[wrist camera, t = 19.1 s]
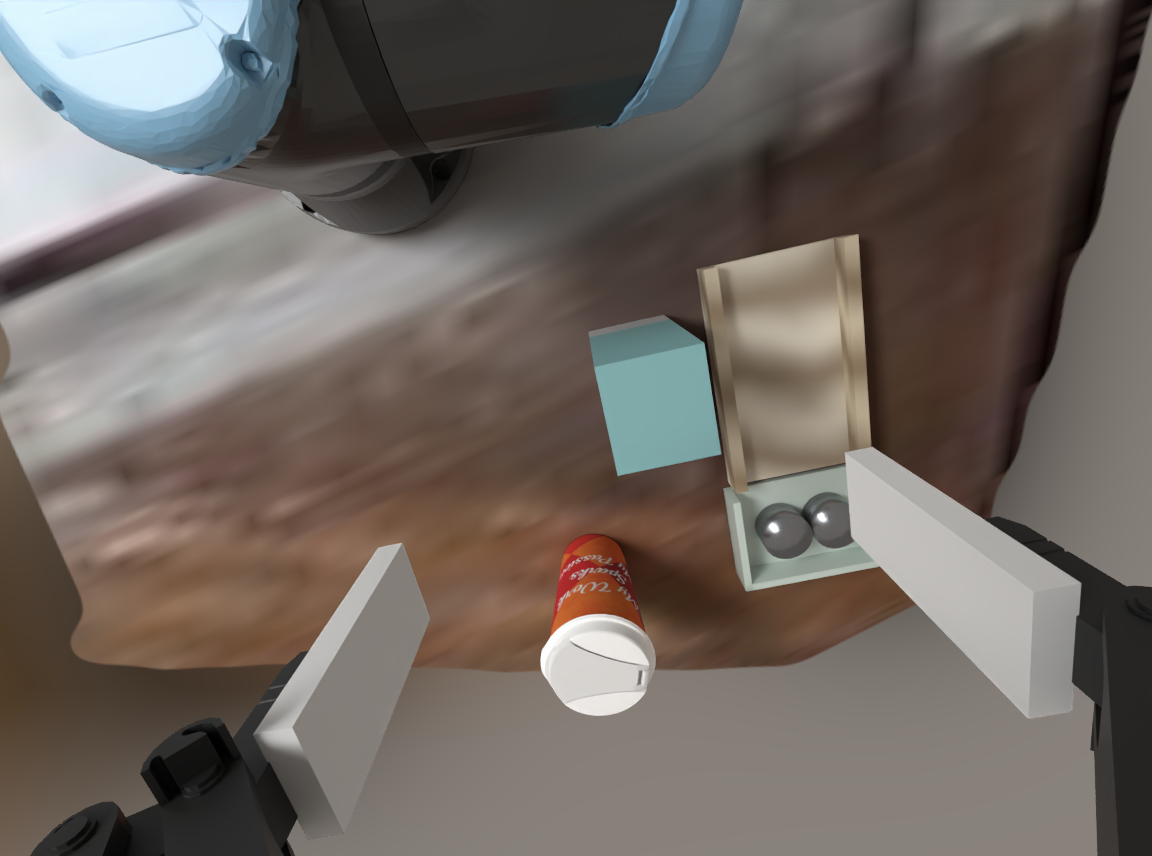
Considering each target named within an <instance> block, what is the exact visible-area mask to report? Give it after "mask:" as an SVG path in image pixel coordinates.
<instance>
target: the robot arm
mask: <svg viewBox="0 0 1152 856" xmlns="http://www.w3.org/2000/svg"><path fill="white" fill-rule="evenodd" d="M742 3H743V0H0V51H1V53H2V54H3V55H4V57H5V58H6V60H7V61H8V62H9V64H10V65H11V66H12V68H13V69H14V70H15V71H16V73H17V74H18V75H19V76H20V78H21V79H22V80H23V81H24V82H25V83H26V85H27V86H28V87H29V88H30V89H31V90H32V91H33V92H34V93H35V94H36V95H37V96H38V97H39V98H40V99H41V100H42V101H43V102H44V103H45V104H46V105H47V106H48V107H49V108H51V109H52V110H53V111H55V112H58V113H59V114H60V115H61V116H62V117H63V118H64V119H65V120H66V121H68V122H70V123H71V124H73V125H74V126H76V127H77V128H78V129H79V130H80V131H81V132H83V133H84V134H86V135H87V136H89V137H91V138H93V139H94V140H96V141H98V142H100V143H102V144H104V145H106V146H108V147H110V148H113V149H115V150H117V151H120V152H123V153H126V154H129V155H132V156H135V157H137V158H140V159H143V160H145V161H147V162H149V163H151V164H155V165H157V166H159V167H161V168H163V169H166V170H172V171H173V172H175V173H179V174H195V175H201V176H205V175H207V176H212V177H217V178H222V179H227V180H232V181H237V182H242V183H247V184H252V185H257V186H262V187H267V188H272V189H277V190H279V191H280V192H281V193H282V194H283V195H284V196H285V197H286V198H288V199H289V200H290V201H291V202H292V203H293V204H294V205H296V206H297V207H298V208H299V209H301V210H302V211H304V212H305V213H307V214H308V215H310V216H312V217H313V218H315V219H317V220H319V221H321V222H323V223H325V224H328V225H330V226H333V227H335V228H338V229H342V230H346V231H351V232H357V233H366V234H391V233H397V232H402V231H405V230H408V229H411V228H414V227H416V226H418V225H420V224H422V223H424V222H426V221H427V220H429V219H430V218H432V217H433V216H434V215H436V214H437V213H438V212H439V211H440V210H441V209H442V208H443V207H444V206H445V205H446V204H447V203H448V202H449V201H450V200H451V198H452V197H453V196H454V194H455V193H456V191H457V190H458V188H459V187H460V185H461V183H462V181H463V179H464V177H465V174H466V172H467V169H468V166H469V163H470V160H471V156H472V151H473V147H475V146H480V145H486V144H492V143H498V142H503V141H509V140H515V139H521V138H526V137H532V136H538V135H544V134H549V133H555V132H561V131H567V130H572V129H578V128H584V127H590V126H595V125H596V127H598V128H601V129H609V128H614V127H616V126H617V125H619V124H623V123H624V122H626V121H627V120H628V119H631V118H636V117H640V116H645V115H649V114H654V113H658V112H663V111H667V110H671V109H674V108H676V107H679V106H680V105H682V104H683V103H684V102H686V101H687V100H689V99H691V98H692V97H693V96H694V95H695V94H696V93H698V92H699V91H700V90H701V89H702V88H703V87H704V86H705V85H706V83H707V82H708V81H709V79H710V78H711V76H712V75H713V73H714V72H715V70H716V69H717V67H718V65H719V63H720V61H721V59H722V57H723V55H724V53H725V51H726V48H727V46H728V44H729V41H730V39H731V36H732V34H733V31H734V28H735V25H736V22H737V19H738V16H739V13H740V10H741V7H742ZM845 461H846V474H847V487H848V500H849V513H850V526H851V537H852V538H853V539H854V540H855V541H856V542H857V543H858V544H859V545H860V546H861V547H862V548H863V549H864V550H865V552H866V553H867V554H868V555H869V556H870V557H871V558H872V559H873V560H874V561H875V562H876V563H877V564H878V565H879V566H880V567H881V568H882V569H883V570H884V571H885V572H886V573H887V574H888V575H889V576H890V577H891V578H892V579H893V580H894V581H895V582H896V583H897V584H898V585H899V586H900V587H901V588H902V590H903V591H904V592H905V593H906V594H907V595H908V596H909V597H910V598H911V599H912V600H913V601H914V602H915V603H916V604H917V605H918V606H919V607H920V608H921V609H922V610H923V611H924V612H925V613H926V614H927V615H928V616H929V617H930V618H931V619H932V620H933V621H934V622H935V623H936V624H937V625H938V626H939V628H940V629H942V631H944V633H945V634H946V635H947V636H948V637H949V638H950V639H951V640H952V641H953V642H954V643H955V644H956V645H957V646H958V647H959V648H960V649H961V650H962V651H963V652H964V653H965V654H966V655H967V656H968V657H969V658H970V659H971V660H972V661H973V662H974V663H975V664H976V666H977V667H978V668H979V669H980V670H981V671H982V672H983V673H984V674H985V675H986V676H987V677H988V678H989V679H990V680H991V681H992V682H993V683H994V684H995V685H996V686H997V687H998V688H999V689H1000V690H1001V691H1002V692H1003V693H1004V694H1005V695H1006V696H1007V697H1008V698H1009V699H1010V700H1011V701H1012V703H1014V705H1015V706H1016V707H1017V708H1018V709H1019V710H1020V711H1021V712H1022V713H1023V714H1024V715H1025V716H1026V717H1027V718H1028V719H1031V718H1036V717H1043V716H1049V715H1055V714H1061V713H1067V712H1072V706H1073V692H1074V685H1076V686H1077V687H1078V688H1079V689H1080V690H1081V691H1083V692H1084V693H1085V694H1086V695H1087V696H1088V697H1089V698H1091V699H1092V700H1093V701H1094V702H1095V703H1094V714H1093V726H1092V737H1091V749H1090V750H1092V751H1094V757H1095V789H1096V819H1097V820H1096V821H1097V852H1098V856H1152V587H1144V586H1127V587H1126V586H1125V585H1123V584H1121V583H1120V582H1118V581H1116V580H1115V579H1113V578H1111V577H1110V576H1108V575H1107V574H1105V573H1103V572H1101V571H1100V570H1098V569H1097V568H1095V567H1093V566H1092V565H1090V564H1088V563H1087V562H1085V561H1083V560H1082V559H1080V558H1078V557H1077V556H1075V555H1073V554H1072V553H1070V552H1065V551H1064V549H1063V548H1062V547H1060V546H1059V545H1057V544H1055V543H1054V542H1052V541H1047V539H1046V538H1045V537H1044V536H1042V535H1040V534H1039V533H1037V532H1035V531H1034V530H1032V529H1030V528H1029V527H1027V526H1025V525H1022V524H1019V523H1016V522H1013V521H1010V520H1007V519H1004V518H1001V517H993V518H988V519H982V518H981V517H979V516H978V515H976V514H974V513H973V512H971V511H970V510H968V509H967V508H965V507H964V506H962V505H961V504H959V503H958V502H956V501H955V500H953V499H951V498H950V497H948V496H947V495H945V494H944V493H942V492H941V491H939V490H938V489H936V488H935V487H933V486H932V485H930V484H928V483H927V482H925V481H924V480H922V479H921V478H919V477H918V476H916V475H915V474H913V473H912V472H910V471H908V470H907V469H905V468H904V467H902V466H901V465H899V464H898V463H896V462H895V461H893V460H892V459H890V458H889V457H887V456H885V455H884V454H882V453H881V452H879V451H878V450H876V449H875V448H873V447H869V448H864V449H859V450H854V451H850V452H845ZM429 620H430V617H429V614H428V611H427V608H426V606H425V603H424V600H423V597H422V595H421V592H420V589H419V586H418V584H417V581H416V578H415V575H414V573H413V570H412V567H411V564H410V562H409V559H408V556H407V553H406V551H405V548H404V545H403V543H399V544H394V545H389V546H384V547H379V548H378V549H377V550H376V552H375V553H374V555H373V556H372V558H371V559H370V561H369V562H368V564H367V565H366V567H365V568H364V570H363V571H362V573H361V574H360V576H359V577H358V579H357V580H356V582H355V583H354V585H353V586H352V588H351V589H350V591H349V592H348V594H347V595H346V597H345V598H344V600H343V601H342V602H341V604H340V605H339V607H338V608H337V610H336V611H335V613H334V614H333V616H332V617H331V619H330V620H329V622H328V623H327V625H326V626H325V628H324V629H323V631H322V632H321V634H320V635H319V637H318V638H317V640H316V641H315V643H314V644H313V646H312V647H311V649H310V650H309V651H305V652H300V653H299V654H298V655H297V656H296V657H295V658H294V659H293V660H292V661H290V662H289V663H288V664H287V665H286V666H285V667H284V668H283V669H282V670H281V671H280V673H279V674H278V675H277V677H276V678H275V680H274V681H273V683H272V684H271V686H270V690H267V691H266V692H265V694H264V695H263V697H262V698H261V700H260V704H259V705H256V707H255V708H254V710H253V711H252V712H251V714H250V715H249V717H248V718H247V719H246V721H245V722H244V724H243V725H242V726H241V728H240V729H239V731H238V732H237V734H236V735H235V736H234V738H233V739H232V737H231V735H230V734H229V731H228V730H227V728H226V726H225V724H224V723H223V722H222V720H221V719H220V718H206V719H203V720H199V721H196V722H194V723H192V724H190V725H187V726H185V727H183V728H181V729H180V730H178V731H177V732H175V733H174V734H172V735H171V736H170V737H168V738H167V739H165V740H164V741H163V742H162V743H161V744H160V745H159V746H158V747H157V748H156V749H154V750H153V752H152V753H151V754H150V756H149V757H148V758H147V760H146V761H145V762H144V764H143V767H142V770H141V773H140V774H141V775H142V777H143V779H144V780H145V782H146V783H147V785H148V787H149V788H150V790H151V791H152V793H153V794H154V796H155V798H156V799H157V801H158V804H156V805H154V806H152V807H149V808H147V809H145V810H142V811H140V812H138V813H136V814H133V815H131V816H128V817H125V816H124V814H123V813H122V811H121V809H120V808H119V806H117V805H116V804H115V803H114V802H101V803H98V804H95V805H93V806H90V807H88V808H85V809H84V810H82V811H80V812H78V813H77V814H75V815H72V816H71V817H69V818H68V819H66V820H65V821H63V823H62V824H59V825H58V826H57V827H56V828H55V829H53V830H52V831H51V832H50V834H49V835H48V836H46V838H44V839H43V841H42V842H40V843H39V844H38V846H37V847H36V848H35V849H34V851H33V852H32V854H31V855H30V856H295V855H294V852H293V850H292V848H291V846H290V844H289V843H288V841H287V838H288V836H289V834H290V832H291V830H292V827H293V826H294V824H295V822H296V820H298V822H299V824H300V826H301V827H302V829H303V831H304V833H305V835H306V837H307V839H308V840H310V839H316V838H322V837H328V836H334V835H339V834H344V833H345V831H346V828H347V826H348V824H349V821H350V818H351V816H352V814H353V811H354V809H355V806H356V804H357V801H358V799H359V796H360V793H361V791H362V789H363V786H364V784H365V781H366V778H367V776H368V774H369V771H370V768H371V766H372V763H373V761H374V758H375V756H376V753H377V751H378V748H379V746H380V743H381V741H382V738H383V736H384V733H385V731H386V728H387V726H388V723H389V720H390V718H391V716H392V713H393V711H394V708H395V706H396V703H397V701H398V698H399V696H400V693H401V690H402V688H403V685H404V683H405V680H406V678H407V676H408V673H409V671H410V668H411V666H412V663H413V661H414V658H415V655H416V653H417V650H418V648H419V645H420V643H421V640H422V638H423V635H424V633H425V630H426V628H427V625H428V623H429Z"/></svg>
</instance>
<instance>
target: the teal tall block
mask: <svg viewBox="0 0 1152 856" xmlns="http://www.w3.org/2000/svg"><path fill="white" fill-rule="evenodd" d="M589 338H590V345H591V351H592V357H593V363H594V368H595V373H596V377H597V382H598V387H599V391H600V396H601V400H602V405H603V410H604V414H605V419H606V423H607V428H608V433H609V437H610V442H611V446H612V451H613V456H614V460H615V465H616V470H617V474H618V476H619V475H624V474H628V473H633V472H638V471H643V470H648V469H653V468H657V467H662V466H667V465H672V464H677V463H681V462H686V461H691V460H696V459H701V458H706V457H710V456H715V455H720V454H721V450H720V443H719V437H718V430H717V423H716V417H715V410H714V404H713V397H712V390H711V384H710V377H709V371H708V364H707V358H706V351H705V344H704V342H702V341H701V340H699V339H698V338H696V337H695V336H694V335H692V334H691V333H689V332H688V331H686V330H685V329H683V328H682V327H681V326H679V325H678V324H676V323H675V322H673V321H672V320H670V319H669V318H668V317H666V316H665V315H660V316H656V317H651V318H647V319H642V320H638V321H634V322H629V323H625V324H620V325H616V326H611V327H607V328H603V329H598V330H594V331H589Z"/></svg>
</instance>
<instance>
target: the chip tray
mask: <svg viewBox="0 0 1152 856" xmlns="http://www.w3.org/2000/svg"><path fill="white" fill-rule="evenodd" d="M747 485H748V492H743V493H738V494H736V493H735V491H734V490H733V488H732V487H728V488H723V490H724V496H725V503H726V509H727V516H728V522H729V529H730V535H731V542H732V548H733V555H734V561H735V568H736V573H737V575H738V577H739V579H740V581H741V583H742V585H743V587H744V589H745V591H746V592H747V591H753V590H758V589H763V588H768V587H774V586H779V585H784V584H790V583H795V582H800V581H805V580H811V579H816V578H821V577H827V576H832V575H837V574H842V573H848V572H853V571H858V570H864V569H869V568H874V567H879V565H878V564H877V563H876V562H875V561H874V560H873V559H872V558H871V557H870V556H869V555H868V554H867V553H866V552H865V550H864V549H863V548H862V547H861V546H860V545H859V544H858V543H857V542H856V541H853V542H852V543H851V544H849V545H847V546H845V547H842V548H835V549H833V548H827V547H825V546H823V545H821V544H820V543H819V542H818V541H817V540H816V539H815V538H814V536H813V539H812V542H811V545H810V546H809V548H808V549H807V550H806V551H805V552H804V553H803V554H801V555H800V556H798V557H795V558H792V559H780V558H776V557H774V556H772V555H771V554H770V553H769V552H768V551H767V549H766V548H765V546H764V545H763V543H762V541H761V540H760V538H759V536H758V535H757V533H756V530H755V521H756V518H757V516H758V514H759V513H760V512H761V511H762V510H763V509H764V508H765V507H767V506H769V505H771V504H774V503H787V504H790V505H792V506H793V507H795V508H796V509H797V510H798V511H799V513H800V514H801V515H802V510H803V507H804V505H805V504H806V502H807V501H808V500H809V499H810V498H812V497H813V496H815V495H817V494H819V493H824V492H832V493H836V494H838V495H840V496H841V497H843V498H844V499H845V500H846V501H847V502H848V503H849V500H848V487H847V474H846V464H842V465H837V466H832V467H827V468H822V469H817V470H812V471H807V472H802V473H797V474H792V475H787V476H782V477H778V478H773V479H768V480H763V481H758V482H753V483H748V484H747Z"/></svg>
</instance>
